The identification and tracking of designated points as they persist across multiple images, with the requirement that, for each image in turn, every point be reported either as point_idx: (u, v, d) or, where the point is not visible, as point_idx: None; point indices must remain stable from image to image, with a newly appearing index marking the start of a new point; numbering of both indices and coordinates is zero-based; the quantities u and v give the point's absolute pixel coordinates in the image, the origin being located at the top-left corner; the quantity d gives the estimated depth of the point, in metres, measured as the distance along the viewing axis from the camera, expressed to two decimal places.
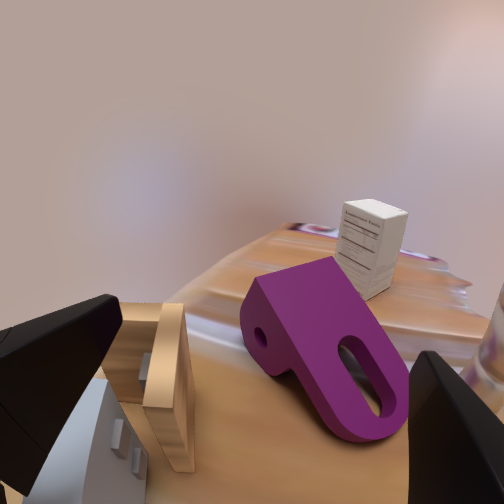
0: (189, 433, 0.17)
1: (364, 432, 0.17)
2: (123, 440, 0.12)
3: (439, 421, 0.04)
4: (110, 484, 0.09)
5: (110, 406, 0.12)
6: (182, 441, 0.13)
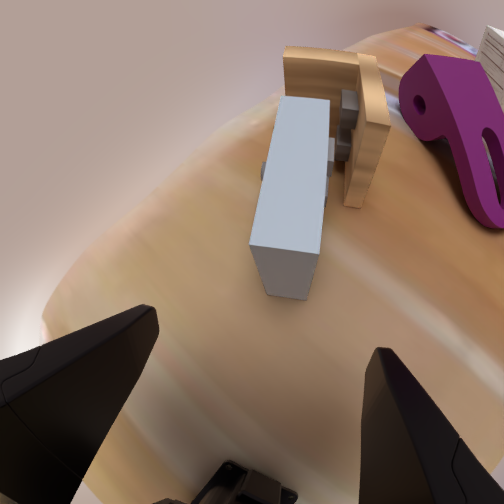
0: None
1: (490, 213, 0.19)
2: None
3: (385, 422, 0.05)
4: None
5: None
6: (376, 165, 0.17)
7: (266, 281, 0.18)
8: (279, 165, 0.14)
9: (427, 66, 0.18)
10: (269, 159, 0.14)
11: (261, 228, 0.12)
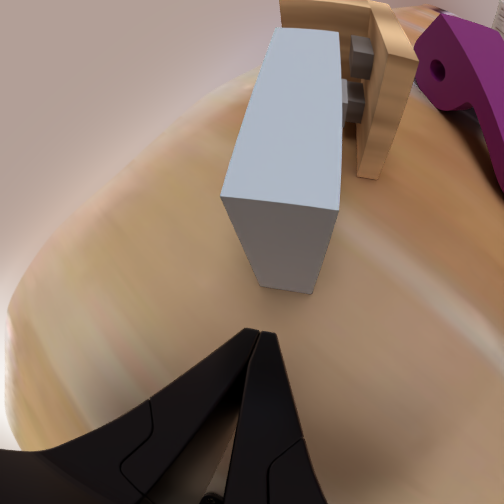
0: None
1: None
2: None
3: None
4: None
5: None
6: (400, 118, 0.12)
7: (257, 266, 0.13)
8: (272, 91, 0.08)
9: (445, 26, 0.13)
10: (258, 85, 0.09)
11: (241, 172, 0.07)
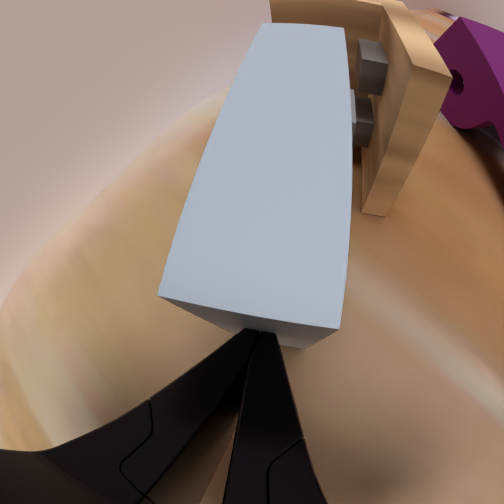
0: None
1: None
2: None
3: None
4: None
5: None
6: (420, 149, 0.10)
7: (235, 332, 0.10)
8: (247, 112, 0.06)
9: (465, 31, 0.10)
10: (228, 103, 0.06)
11: (189, 255, 0.05)
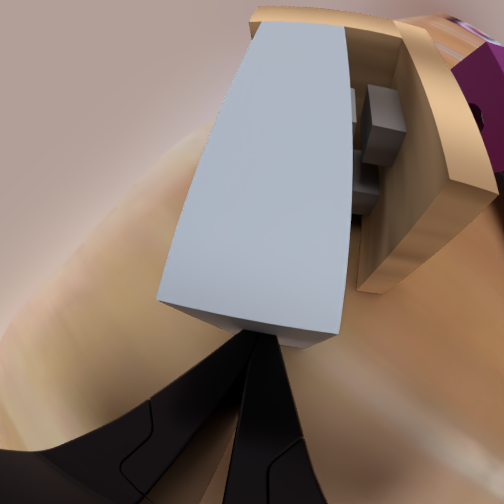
0: None
1: None
2: None
3: None
4: None
5: None
6: (432, 253, 0.08)
7: (235, 333, 0.10)
8: (246, 113, 0.06)
9: (491, 61, 0.09)
10: (227, 103, 0.06)
11: (188, 259, 0.05)
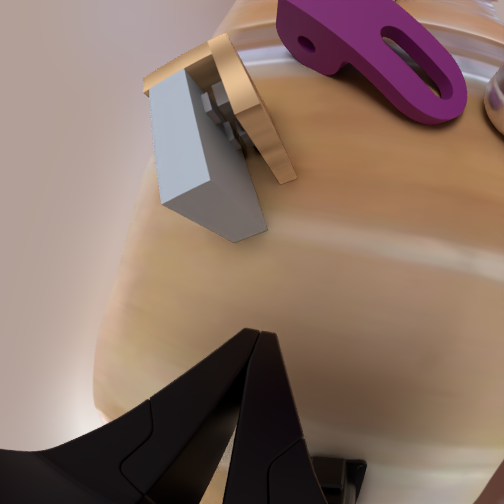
0: (279, 138, 0.20)
1: (432, 111, 0.17)
2: (213, 105, 0.18)
3: None
4: (216, 139, 0.18)
5: (193, 85, 0.17)
6: (278, 140, 0.17)
7: (215, 229, 0.20)
8: (162, 138, 0.15)
9: (289, 5, 0.17)
10: (154, 138, 0.16)
11: (165, 188, 0.14)
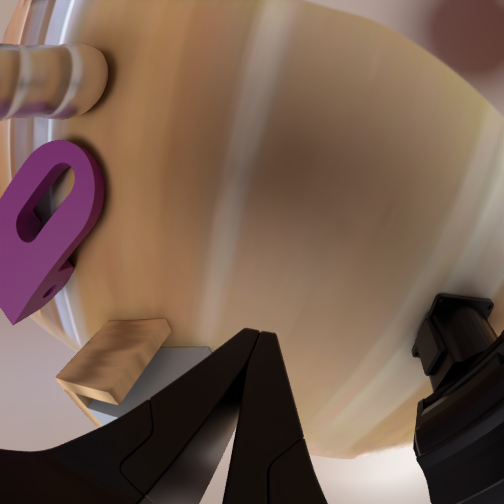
0: (133, 338, 0.24)
1: (88, 198, 0.20)
2: None
3: None
4: (137, 394, 0.22)
5: (98, 401, 0.21)
6: (133, 360, 0.21)
7: None
8: None
9: (19, 317, 0.20)
10: None
11: None
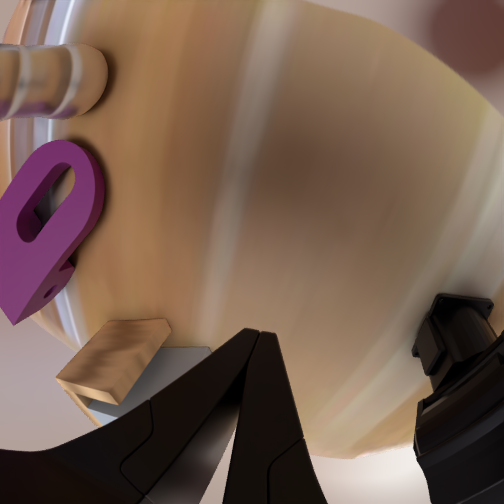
0: (133, 338, 0.24)
1: (89, 198, 0.20)
2: None
3: None
4: (137, 395, 0.22)
5: (98, 401, 0.21)
6: (133, 360, 0.21)
7: None
8: None
9: (20, 317, 0.20)
10: None
11: None
